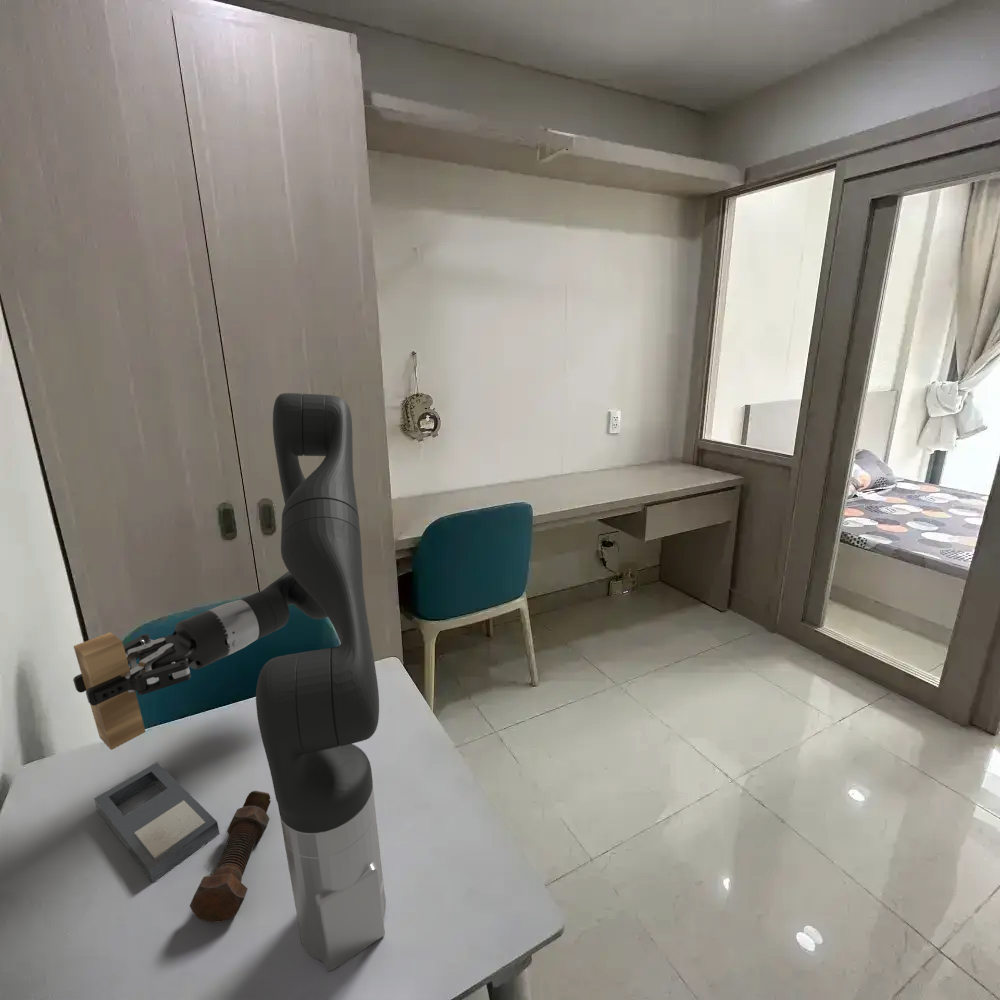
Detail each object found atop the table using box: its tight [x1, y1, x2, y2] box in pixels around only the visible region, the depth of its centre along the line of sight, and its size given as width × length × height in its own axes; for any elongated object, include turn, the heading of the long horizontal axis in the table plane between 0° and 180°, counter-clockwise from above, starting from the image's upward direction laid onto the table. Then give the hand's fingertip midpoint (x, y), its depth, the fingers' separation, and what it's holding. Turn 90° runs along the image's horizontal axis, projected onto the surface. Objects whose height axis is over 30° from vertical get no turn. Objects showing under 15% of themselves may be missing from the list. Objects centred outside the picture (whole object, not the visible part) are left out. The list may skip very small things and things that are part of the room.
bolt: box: [189, 790, 271, 924], centre depth 64 cm, size 6×5×15 cm
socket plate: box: [93, 761, 221, 883], centre depth 70 cm, size 18×8×2 cm, turn 55°
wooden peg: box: [73, 632, 146, 751], centre depth 68 cm, size 4×4×14 cm
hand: (82, 691), depth 65 cm, fingers closed on wooden peg, 4 cm apart
